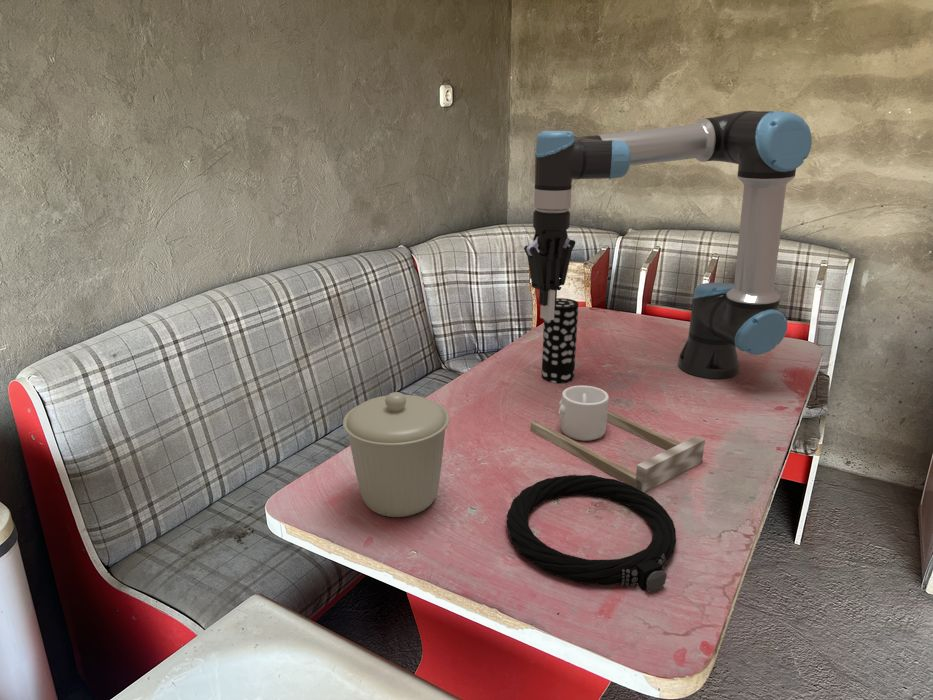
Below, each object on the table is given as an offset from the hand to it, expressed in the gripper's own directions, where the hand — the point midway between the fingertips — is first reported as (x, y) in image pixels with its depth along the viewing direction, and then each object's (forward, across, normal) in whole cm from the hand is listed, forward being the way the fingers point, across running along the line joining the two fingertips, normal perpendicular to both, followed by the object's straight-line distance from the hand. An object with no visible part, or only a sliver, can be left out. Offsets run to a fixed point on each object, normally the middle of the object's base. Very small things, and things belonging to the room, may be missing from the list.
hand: (547, 318), depth 144 cm
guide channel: (+22, 0, +20) cm, 30 cm away
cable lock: (+23, +26, +39) cm, 52 cm away
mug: (+23, 0, +12) cm, 26 cm away
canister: (+23, +46, +11) cm, 52 cm away
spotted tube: (+23, -16, -12) cm, 30 cm away
